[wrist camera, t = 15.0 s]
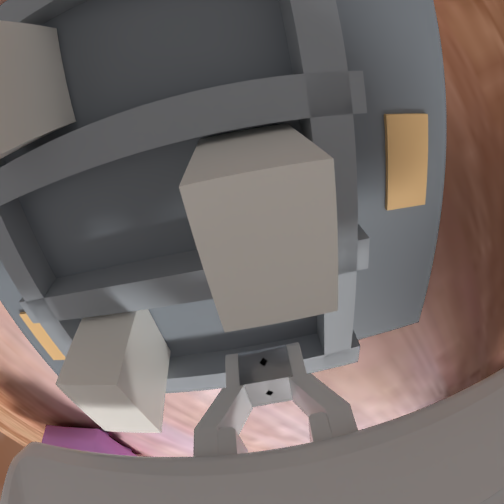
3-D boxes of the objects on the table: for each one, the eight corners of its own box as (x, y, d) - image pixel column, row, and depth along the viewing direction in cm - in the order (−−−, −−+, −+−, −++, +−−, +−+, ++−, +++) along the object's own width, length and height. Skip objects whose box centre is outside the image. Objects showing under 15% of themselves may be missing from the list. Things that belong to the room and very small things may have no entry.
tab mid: (286, 123, 10) (333, 158, 5) (299, 225, 12) (337, 310, 8) (199, 139, 10) (178, 186, 6) (223, 239, 12) (224, 332, 8)
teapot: (179, 466, 32) (178, 531, 23) (100, 463, 33) (93, 518, 24) (96, 405, 22) (78, 502, 14) (15, 402, 23) (-6, 472, 15)
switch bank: (395, -43, 7) (437, -63, 4) (405, 300, 18) (429, 339, 15) (-53, 91, 8) (-94, 104, 5) (66, 355, 18) (52, 392, 15)
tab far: (141, 295, 13) (116, 385, 9) (170, 351, 15) (161, 432, 11) (88, 303, 13) (55, 384, 9) (122, 355, 15) (105, 431, 11)
